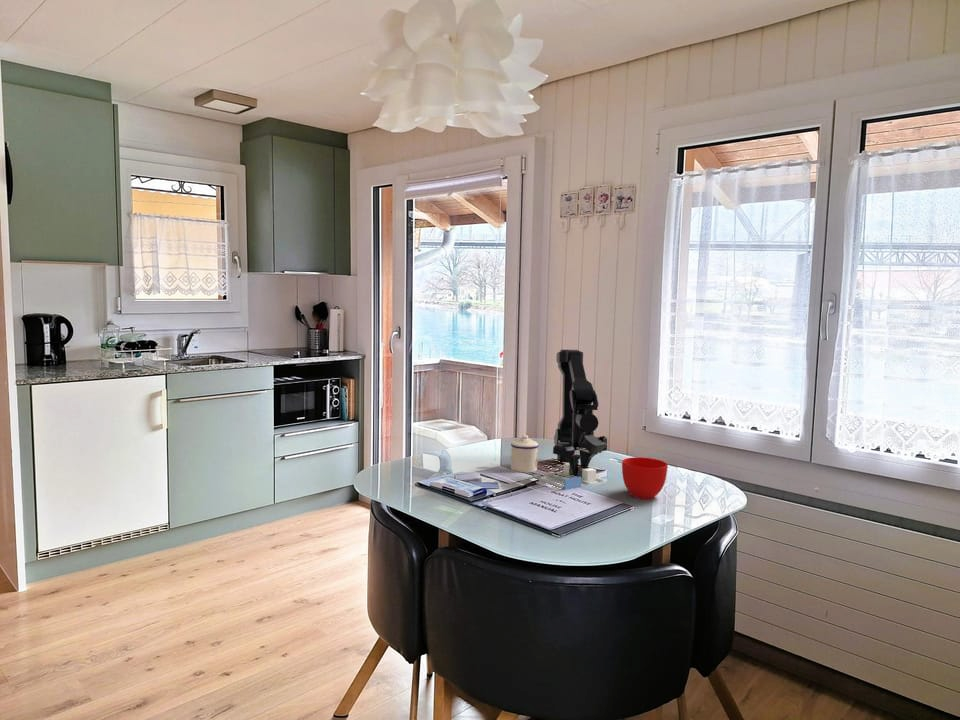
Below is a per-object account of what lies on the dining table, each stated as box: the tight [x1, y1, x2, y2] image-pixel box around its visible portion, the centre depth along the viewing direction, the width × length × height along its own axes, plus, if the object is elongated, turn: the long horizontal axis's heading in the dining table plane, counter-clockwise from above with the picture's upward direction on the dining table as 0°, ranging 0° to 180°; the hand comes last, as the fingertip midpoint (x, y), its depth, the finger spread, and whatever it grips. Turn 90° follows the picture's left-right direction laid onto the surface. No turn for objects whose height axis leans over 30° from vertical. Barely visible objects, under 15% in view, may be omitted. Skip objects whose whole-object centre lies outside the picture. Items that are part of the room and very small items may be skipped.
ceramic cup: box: [621, 456, 668, 500], centre depth 201 cm, size 13×17×10 cm
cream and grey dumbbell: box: [563, 463, 597, 482], centre depth 216 cm, size 11×4×4 cm, turn 35°
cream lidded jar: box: [510, 434, 539, 473], centre depth 226 cm, size 12×9×12 cm
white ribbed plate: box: [532, 471, 609, 492], centre depth 213 cm, size 15×22×3 cm
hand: (579, 474), depth 216 cm, fingers closed on cream and grey dumbbell, 3 cm apart
